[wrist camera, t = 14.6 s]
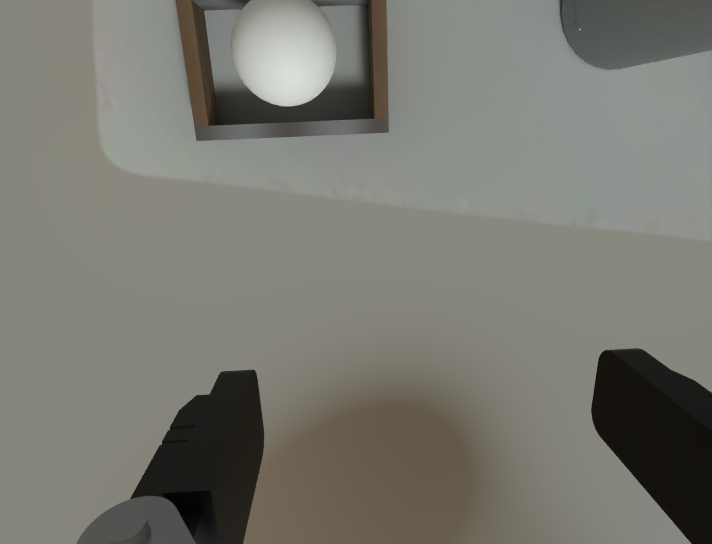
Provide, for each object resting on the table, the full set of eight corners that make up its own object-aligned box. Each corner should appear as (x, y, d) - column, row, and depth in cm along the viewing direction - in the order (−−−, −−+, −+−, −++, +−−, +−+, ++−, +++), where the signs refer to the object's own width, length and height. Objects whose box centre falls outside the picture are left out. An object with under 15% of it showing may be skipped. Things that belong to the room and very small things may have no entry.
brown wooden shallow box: (381, -12, 32) (385, -26, 29) (384, 132, 35) (388, 132, 32) (187, -5, 32) (173, -18, 29) (207, 139, 35) (196, 140, 32)
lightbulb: (244, 36, 33) (201, -7, 22) (323, 12, 33) (317, -42, 22) (270, 120, 35) (242, 117, 24) (345, 98, 34) (350, 85, 24)
